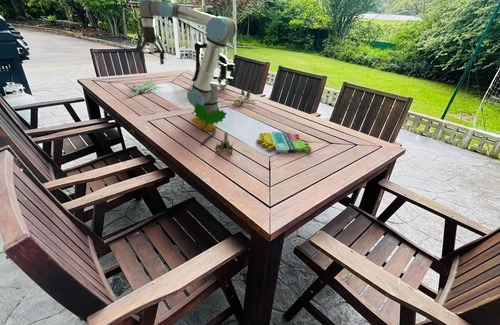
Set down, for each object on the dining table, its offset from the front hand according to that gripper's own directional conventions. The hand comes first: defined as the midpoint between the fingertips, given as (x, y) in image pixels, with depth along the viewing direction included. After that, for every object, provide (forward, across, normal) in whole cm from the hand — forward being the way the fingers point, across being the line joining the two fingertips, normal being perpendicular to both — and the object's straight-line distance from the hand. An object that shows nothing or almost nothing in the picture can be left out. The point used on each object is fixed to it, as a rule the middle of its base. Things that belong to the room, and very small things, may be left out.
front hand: (152, 63), depth 169 cm
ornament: (+33, +45, -15) cm, 58 cm away
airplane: (+33, -39, +43) cm, 66 cm away
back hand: (+31, +20, +84) cm, 92 cm away
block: (+32, +20, +84) cm, 92 cm away
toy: (+33, +48, +51) cm, 77 cm away
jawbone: (+33, +64, -42) cm, 83 cm away
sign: (+33, +91, -20) cm, 99 cm away
